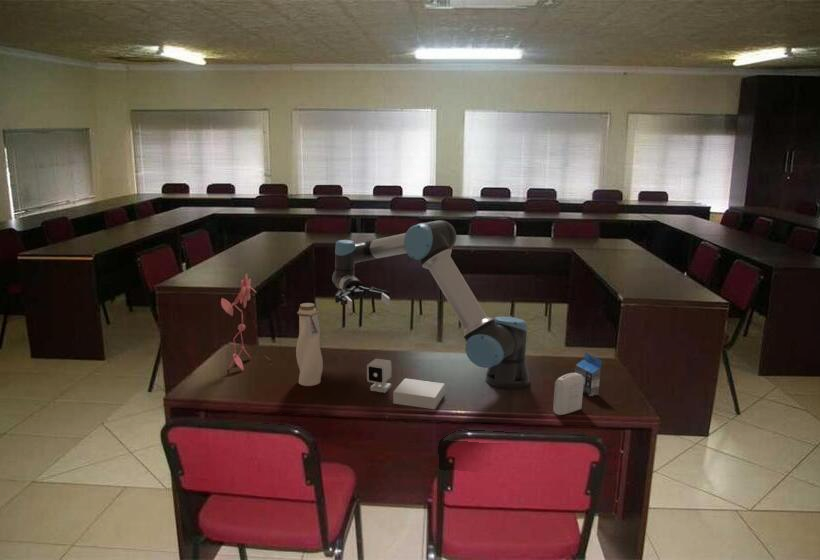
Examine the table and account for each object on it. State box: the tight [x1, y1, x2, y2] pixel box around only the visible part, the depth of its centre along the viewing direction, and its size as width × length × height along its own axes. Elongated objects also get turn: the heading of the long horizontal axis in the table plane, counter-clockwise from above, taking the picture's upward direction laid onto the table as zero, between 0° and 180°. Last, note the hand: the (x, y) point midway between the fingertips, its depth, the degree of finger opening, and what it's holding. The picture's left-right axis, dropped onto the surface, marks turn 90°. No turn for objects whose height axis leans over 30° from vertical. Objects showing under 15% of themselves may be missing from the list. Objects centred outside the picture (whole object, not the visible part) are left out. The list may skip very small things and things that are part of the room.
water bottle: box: [295, 302, 324, 387], centre depth 212 cm, size 10×9×28 cm
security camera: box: [366, 357, 392, 394], centre depth 208 cm, size 6×7×10 cm
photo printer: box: [552, 372, 584, 416], centre depth 193 cm, size 10×4×12 cm, turn 123°
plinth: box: [392, 378, 446, 410], centre depth 202 cm, size 14×12×4 cm
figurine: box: [220, 272, 272, 376], centre depth 226 cm, size 15×26×35 cm, turn 178°
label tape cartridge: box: [574, 352, 603, 397], centre depth 208 cm, size 9×4×12 cm, turn 23°
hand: (370, 303), depth 210 cm, fingers open, 13 cm apart
